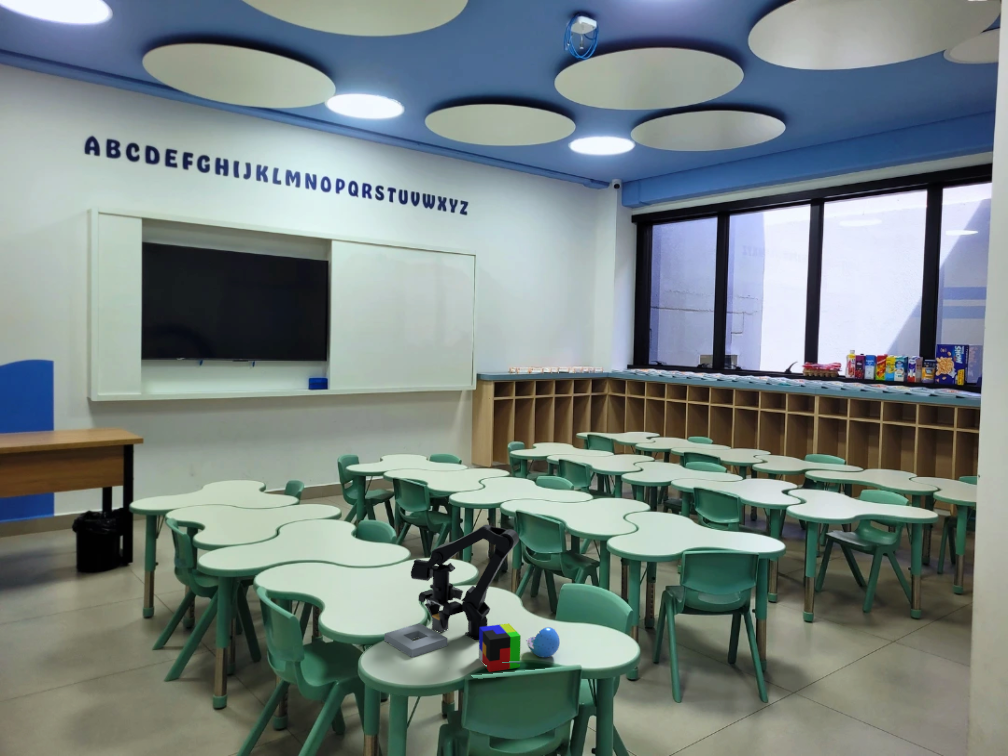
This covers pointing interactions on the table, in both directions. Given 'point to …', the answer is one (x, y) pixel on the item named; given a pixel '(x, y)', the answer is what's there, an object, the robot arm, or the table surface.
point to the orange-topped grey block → (437, 623)
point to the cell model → (544, 642)
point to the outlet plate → (425, 644)
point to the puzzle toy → (499, 646)
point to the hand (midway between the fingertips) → (440, 626)
